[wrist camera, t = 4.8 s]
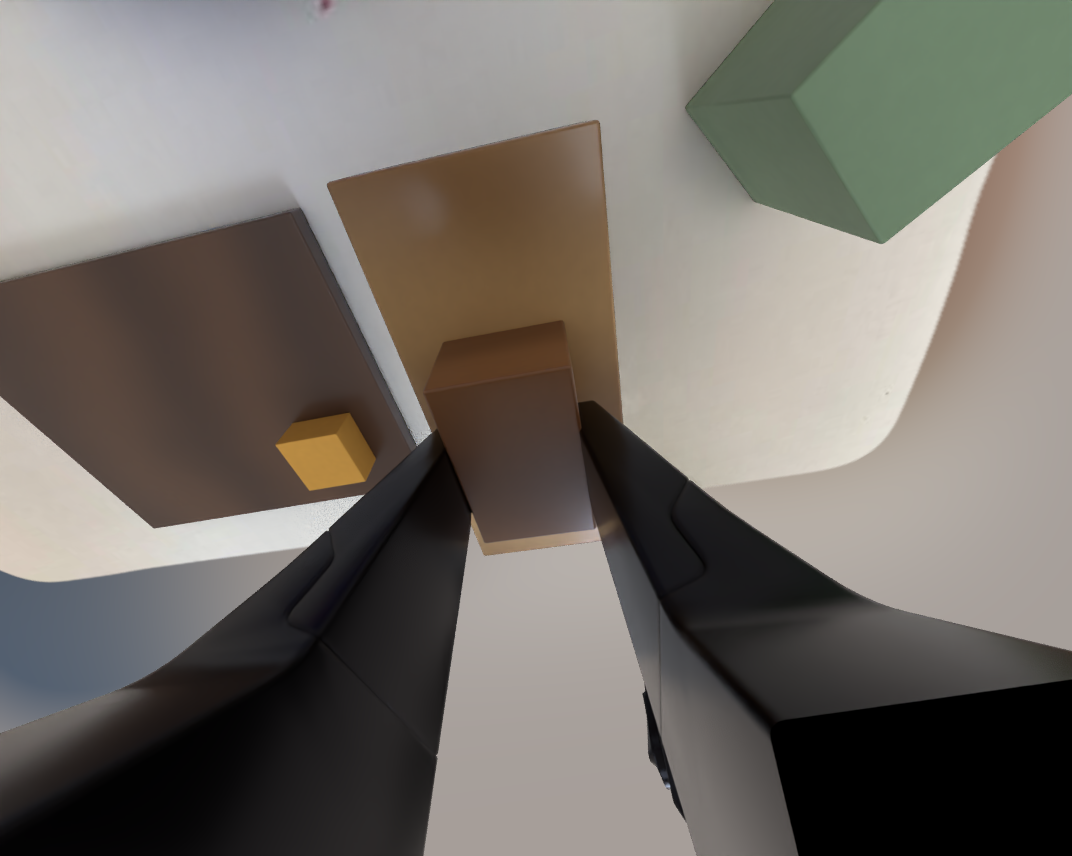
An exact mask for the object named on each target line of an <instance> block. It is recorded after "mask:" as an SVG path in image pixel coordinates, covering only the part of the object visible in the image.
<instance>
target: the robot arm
mask: <svg viewBox="0 0 1072 856" xmlns="http://www.w3.org/2000/svg"><path fill="white" fill-rule="evenodd" d="M578 408H579V415H580V421H581V430H580V431H579V435H580V441H581V448H582V454H583V460H584V467H585V473H586V480H587V486H588V492H589V499H590V504H591V507H592V511H593V515H594V518H595V521H596V525H597V528H598V531H599V534H600V538H601V541H602V544H603V547H604V551H605V554H606V557H607V561H608V564H609V567H610V571H611V574H612V577H613V581H614V584H615V587H616V590H617V594H618V597H619V600H620V604H621V607H622V610H623V614H624V617H625V620H626V623H627V627H628V630H629V633H630V637H631V640H632V643H633V647H634V650H635V653H636V656H637V660H638V663H639V667H640V670H641V673H642V676H643V680H644V683H645V692H644V693H643V698H644V704H645V709H646V714H647V726H648V727H647V728H648V754H649V759H650V761H651V762H652V763H653V764H654V765H655V766H656V767H657V768H658V770H659V773H660V775H661V777H662V780H663V782H664V784H665V786H666V788H667V789H668V790H670V789H671V793H672V798H673V801H674V804H675V805H676V807H677V809H678V811H679V812H680V814H681V815H682V817H683V818H684V820H685V821H686V823H687V825H688V829H689V832H690V835H691V839H692V841H693V845H694V849H695V852H696V855H697V856H1072V651H1069V650H1066V649H1061V648H1057V647H1053V646H1049V645H1045V644H1040V643H1036V642H1032V641H1028V640H1024V639H1019V638H1015V637H1010V636H1006V635H1002V634H998V633H994V632H990V631H986V630H981V629H977V628H973V627H969V626H965V625H960V624H956V623H952V622H948V621H943V620H940V619H935V618H931V617H927V616H923V615H919V614H914V613H910V612H906V611H902V610H899V609H895V608H891V607H889V606H885V605H883V604H880V603H877V602H875V601H873V600H871V599H868V598H866V597H864V596H862V595H860V594H858V593H856V592H854V591H852V590H850V589H848V588H846V587H845V586H843V585H841V584H840V583H838V582H837V581H835V580H833V579H832V578H830V577H828V576H827V575H825V574H824V573H822V572H821V571H819V570H818V569H816V568H815V567H813V566H812V565H810V564H809V563H807V562H806V561H804V560H803V559H801V558H800V557H798V556H796V555H795V554H793V553H792V552H790V551H789V550H787V549H786V548H784V547H783V546H781V545H780V544H778V543H777V542H775V541H774V540H772V539H770V538H769V537H768V536H766V535H764V534H763V533H761V532H760V531H758V530H757V529H755V528H754V527H752V526H751V525H750V524H748V523H747V522H745V521H744V520H742V519H741V518H739V517H738V516H737V515H735V514H733V513H732V512H731V511H729V510H728V509H726V508H725V507H724V506H723V505H721V504H720V503H719V502H717V501H716V500H715V499H714V498H712V497H711V496H710V495H708V494H707V493H706V492H705V491H703V490H702V489H701V488H700V487H699V486H697V485H696V484H695V483H694V482H693V481H691V480H689V479H688V478H687V477H686V476H685V475H684V474H683V473H681V472H680V471H679V470H678V469H677V468H675V467H674V466H673V465H672V464H670V463H669V462H668V461H667V460H666V459H664V458H663V457H662V456H661V455H660V454H658V453H657V452H656V451H655V450H654V449H652V448H651V447H650V446H649V445H648V444H646V443H645V442H644V441H643V440H641V439H640V438H639V437H638V436H637V435H635V434H634V433H633V432H632V431H631V430H629V429H628V428H627V427H626V426H625V425H623V424H622V423H621V422H620V421H619V420H617V419H616V418H615V417H614V416H612V415H611V414H610V413H609V412H608V411H606V410H605V409H604V408H603V407H602V406H600V405H599V404H598V403H597V402H596V401H594V400H589V401H583V402H578ZM471 515H472V511H471V509H470V507H469V504H468V502H467V499H466V497H465V494H464V492H463V490H462V487H461V485H460V482H459V480H458V478H457V475H456V473H455V470H454V468H453V465H452V463H451V461H450V458H449V456H448V453H447V451H446V448H445V446H444V444H443V441H442V439H441V436H440V434H439V431H438V429H436V430H435V431H434V432H432V433H431V434H430V435H429V436H428V437H427V438H426V439H425V440H424V441H423V442H422V443H421V444H419V445H418V446H417V447H416V448H415V449H414V450H413V451H412V452H411V453H410V454H409V455H408V456H406V457H405V458H404V459H403V460H402V461H401V462H400V463H399V464H398V465H397V466H396V467H395V468H394V469H392V470H391V471H390V472H389V473H388V474H387V475H386V476H385V477H384V478H383V479H382V480H381V481H379V482H378V483H377V484H376V485H375V486H374V487H373V488H372V489H371V490H370V491H369V492H368V493H366V494H365V495H364V496H363V497H362V498H361V499H360V500H359V501H358V502H357V503H356V504H355V505H353V506H352V507H351V508H350V509H349V510H348V511H347V512H346V513H345V514H344V515H343V516H342V517H340V518H339V519H338V520H337V521H336V522H335V523H334V524H333V525H332V526H331V527H330V528H329V531H325V532H324V533H323V534H322V535H321V536H320V537H319V538H318V539H317V540H316V541H314V542H313V543H312V544H311V545H310V546H309V547H308V548H307V549H306V550H305V551H303V552H302V553H301V554H300V555H299V556H298V557H297V558H296V559H294V560H293V562H291V563H290V564H289V565H288V566H287V567H286V568H284V569H283V570H282V571H281V572H279V574H277V575H276V576H275V577H273V578H272V579H271V580H270V581H269V582H268V583H267V584H265V585H264V586H263V587H261V588H260V589H259V590H258V591H257V592H255V593H254V594H253V595H252V596H251V597H249V598H248V599H247V600H246V601H244V602H243V603H242V604H241V605H239V606H238V607H237V608H236V609H235V610H233V611H232V612H231V613H230V614H228V615H227V616H226V617H225V618H224V619H222V620H221V621H220V622H219V623H217V624H216V625H215V626H214V627H213V628H211V629H210V630H209V631H208V632H207V633H205V634H204V635H203V636H202V637H200V638H199V639H198V640H197V641H195V642H194V643H193V644H192V645H190V646H189V647H188V648H187V649H185V650H184V651H183V652H182V653H180V654H179V655H178V656H177V657H175V658H174V659H172V660H171V661H170V662H168V663H167V664H165V665H164V666H162V667H160V668H159V669H157V670H156V671H154V672H153V673H151V674H149V675H147V676H145V677H143V678H142V679H140V680H138V681H136V682H134V683H132V684H130V685H127V686H125V687H123V688H121V689H119V690H116V691H114V692H111V693H109V694H106V695H103V696H100V697H98V698H95V699H92V700H89V701H87V702H84V703H81V704H79V705H76V706H73V707H70V708H68V709H65V710H62V711H60V712H57V713H54V714H51V715H49V716H46V717H43V718H40V719H38V720H35V721H32V722H29V723H27V724H24V725H21V726H19V727H16V728H13V729H10V730H8V731H5V732H2V733H0V856H423V855H424V848H425V841H426V834H427V827H428V819H429V813H430V806H431V799H432V792H433V785H434V778H435V771H436V765H437V756H436V755H437V754H438V749H439V742H440V735H441V728H442V720H443V714H444V707H445V700H446V694H447V687H448V680H449V672H450V666H451V659H452V651H453V645H454V638H455V631H456V624H457V617H458V611H459V603H460V597H461V589H462V583H463V576H464V569H465V562H466V555H467V548H468V541H469V534H470V527H471Z"/></svg>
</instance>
